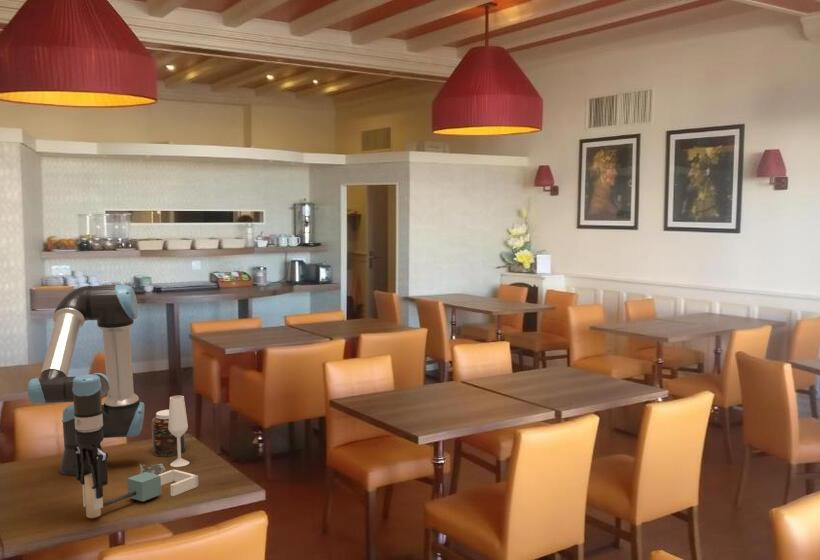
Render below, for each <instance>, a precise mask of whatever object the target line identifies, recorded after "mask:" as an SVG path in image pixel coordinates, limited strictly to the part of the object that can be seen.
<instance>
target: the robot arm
mask: <svg viewBox="0 0 820 560" xmlns="http://www.w3.org/2000/svg"><path fill="white" fill-rule="evenodd" d="M138 308H139V306H138V299H137V296H136V293H135V290H134V289H133V287H132V286H130V285H127V284H126V285H125V284H122V285H121V284H110V285H109V284H107V285H85V286H80V287H77V288H75V289H73V290H71V291H70V292H69V293H67V294H66V295H65V296H64V297H63V298H62V299H61V301H59V303H58V304H57V306H56V307H55V310H54V313H53V318H52V319H53V322H54V326H53V329H52V332H51V335H50V340H49V343H48V346H47V349H46V353H45V358H44V360H43V364H42V369H41V371H40V374H39V377H36V378H35V377H34V378H31V379H30V380H29V381H28V384H27V397H28V401H29V402H30V403H32V404H45V405H46V404H56V403H71V404H69V405H67V406H65V407H64V409H63V410H62V420H61V422H62V429H63V430H62V433H63V448H64V449H63V452H62V457H61V460H60V464H59V473H60V474H62V475H65V476H66V475H67V476H75V477H76V478H75V480H76V481H77V482H80V484H81V489H82V490H81V491H82V500H83V501H82V503H83V507H84V508H86V500H85V481H84V476H85V475H87V474H91V473H92V477H93V483H94V487H92V494H93V510H97V509H99V508H101V509H102V508H104V507H103V503H104V499H103V497H104V489H103V488H104V487H105V486H108V484H109V481H108V480H109V479H108V458H109V453H108V452H104V450H103V447H102V445H101V443H102V442H103V440H104V439H111V438H129V437H136V436H139V435H140V433H141V432H142V429H143V425H144V419H145V407H146V406H145V403H144V402H142V401H140V398H139V396H138V395H137V394H136V393H135V392H134V391H135V390H134V374H133V363H132V362H133V361H132V360H133V359H132V347H131V332H130V330H131V327H132V326H133V324H135V323H134V321H135V319H137V318H138V316H139V310H138ZM86 321H87V322H88V321H96V323H97V327H98V328H99V329H101V330H102V338H103V349H104V350H103V351H104V363H105V365H104V366H105V374H104V373H102V372H95V373H90V374H81V375H77V376H68V375H69V371H70V367H71V363H72V359H73V355H74V351H75V347H76V345H77V344H76V343H77V339H78V336H79V332H80V328H82V327H83V326H84V324H85V322H86ZM105 397H106V398H105ZM103 398H104V400H103V401H102V399H103ZM102 402H103V403H102Z"/></svg>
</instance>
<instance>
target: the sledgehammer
mask: <svg viewBox="0 0 820 560" xmlns="http://www.w3.org/2000/svg"><path fill="white" fill-rule="evenodd" d="M84 481H85V500H86V507H85V512H86V513H85V514H86V517H87V518H89V519H95V518H98V517H100V516H102V508H105V507H107V506H110V505H112V504H114V503H116V504H117V503H118V502H120V501H123V500H125V499H128V498H130V499H133V500H136V501H140V502H145V501H147V500H150V499H153V498H155V497H158V496H160V495H162V486H161V478H160V476H159V475H156V474H152V473H148V472H144V473H141V474H140V473H139V474H136V475H133V476H130V477H127V478H126V482H127V486H126V487H127V493H126V494H123V495H121V496H117V497H116V498H112V499H110V500H107V501H105V502H104V501H103V507H102V508H99V509H97V510H93V494H92V487H94V483H93V477H92V473H91V474H87V475H85V476H84Z"/></svg>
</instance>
